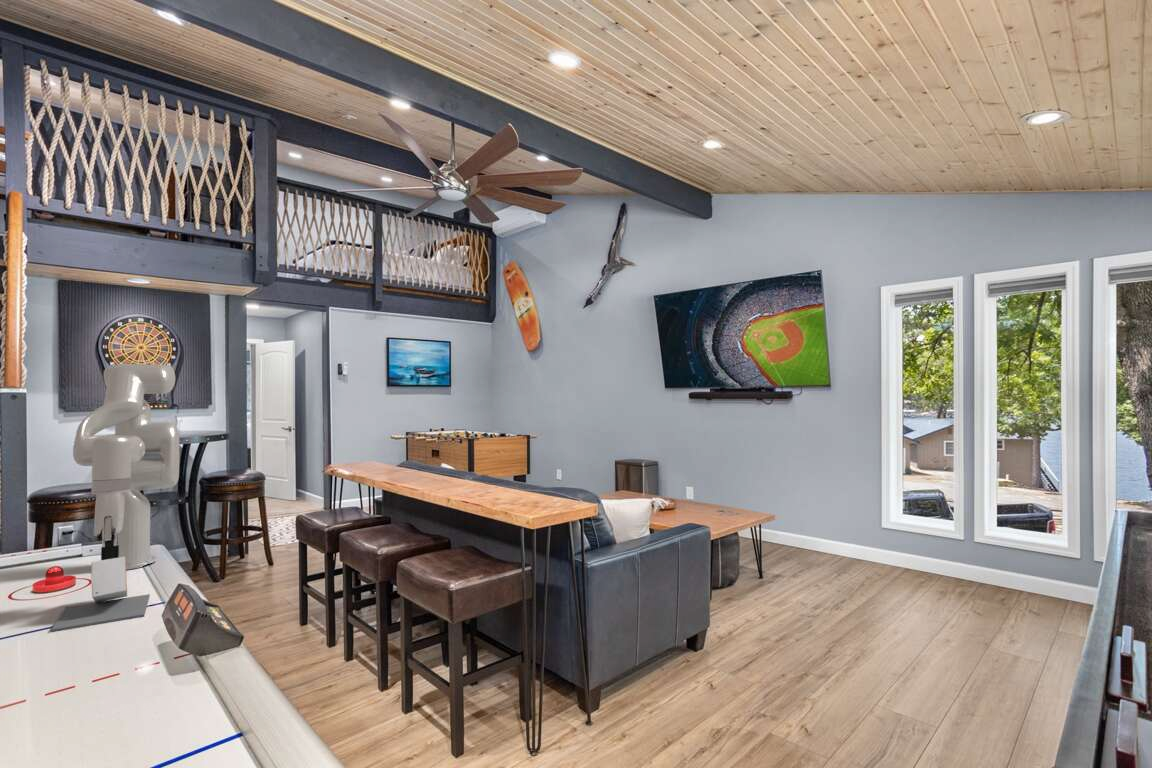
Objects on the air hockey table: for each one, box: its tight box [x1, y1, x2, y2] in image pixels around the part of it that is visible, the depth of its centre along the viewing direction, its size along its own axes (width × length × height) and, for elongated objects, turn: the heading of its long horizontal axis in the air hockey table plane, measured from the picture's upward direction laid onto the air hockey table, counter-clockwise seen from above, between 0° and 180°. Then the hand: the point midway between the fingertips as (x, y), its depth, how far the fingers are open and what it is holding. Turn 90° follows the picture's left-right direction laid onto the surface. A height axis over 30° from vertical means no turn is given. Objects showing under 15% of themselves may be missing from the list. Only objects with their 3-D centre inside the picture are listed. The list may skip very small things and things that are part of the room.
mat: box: [50, 594, 151, 633], centre depth 135 cm, size 16×16×1 cm
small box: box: [90, 557, 128, 603], centre depth 139 cm, size 8×6×13 cm
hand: (109, 562), depth 142 cm, fingers closed
